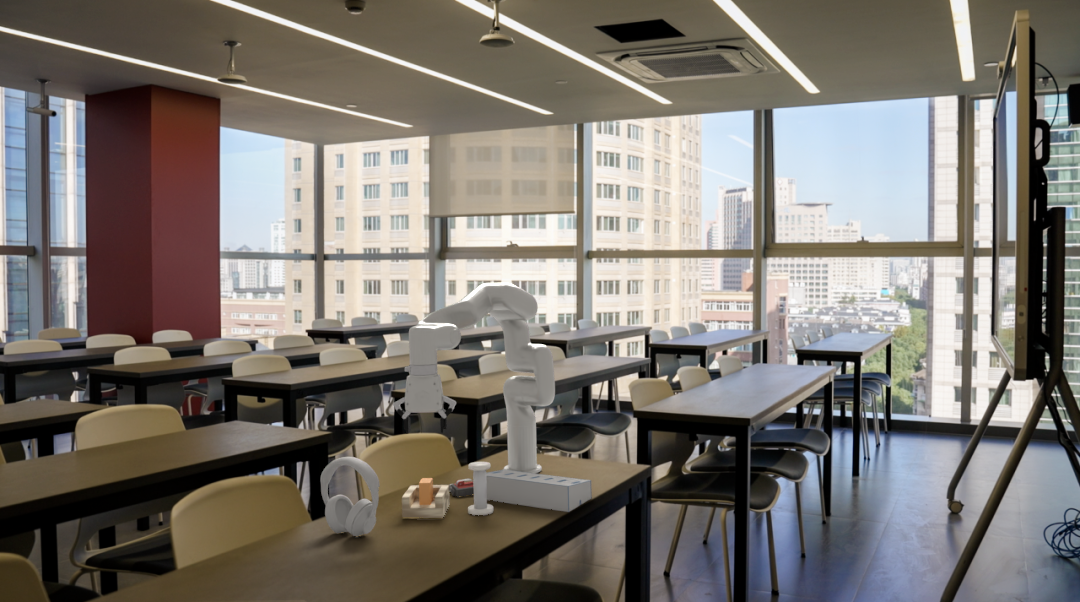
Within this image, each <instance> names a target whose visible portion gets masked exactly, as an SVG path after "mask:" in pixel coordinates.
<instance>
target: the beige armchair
mask: <svg viewBox="0 0 1080 602" xmlns="http://www.w3.org/2000/svg"><path fill="white" fill-rule="evenodd" d="M449 486H450V484H433V501H432V503H431V505H419V484H416V485H415V484H410V485H409V487H408V489H407V490H406V491H405V492H404V494H403V495H402V497H401V515H402V516H401V517H419V518H420V517H421V518H422V517H423V518H443V517H444V518H445V516H446V514H447V512H448V510H449V508H450V506H451V505H450V504H451V503H450V502H451V496H450V494H451V493H449ZM449 505H450V506H449ZM448 507H449V508H448ZM447 509H448V510H447ZM446 511H447V512H446ZM445 513H446V514H445ZM444 515H445V516H444ZM444 518H443V519H444Z"/></svg>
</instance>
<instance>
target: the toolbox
mask: <svg viewBox="0 0 1080 602" xmlns="http://www.w3.org/2000/svg"><path fill="white" fill-rule="evenodd" d="M449 492H451V493H450V494H451V496H455V497H456V496H457V497H456V498H460V497H459V496H464V497H467V496H466V495H471V496H473V495H472V494H474V486H473V480H472V479H471V478H464V479H457V480H456V481H455V483H450V484H449Z"/></svg>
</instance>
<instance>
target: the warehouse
mask: <svg viewBox="0 0 1080 602" xmlns="http://www.w3.org/2000/svg"><path fill="white" fill-rule="evenodd" d="M486 481H487V501H490V500H493V501H492V502H497V501H498V502H497V503H503V502H504V504H505V503H506V504H511V505H517V504H518V505H519V506H524V507H525V506H526V507H532V508H539V509H545V510H551V509H552V510H553V511H559V512H560V511H561V512H564V513H570V512H572V511H573V510H575V509H576V508H578V507H580V506H581V505H583V504H584V503H586V502H588V501H590V500H592V480H591V479H582V478H577V477H576V478H575V477H567V476H558V475H549V474H542V473H527V472H519V471H511V470H504V469H500V470H494V471H488V472H486Z"/></svg>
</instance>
